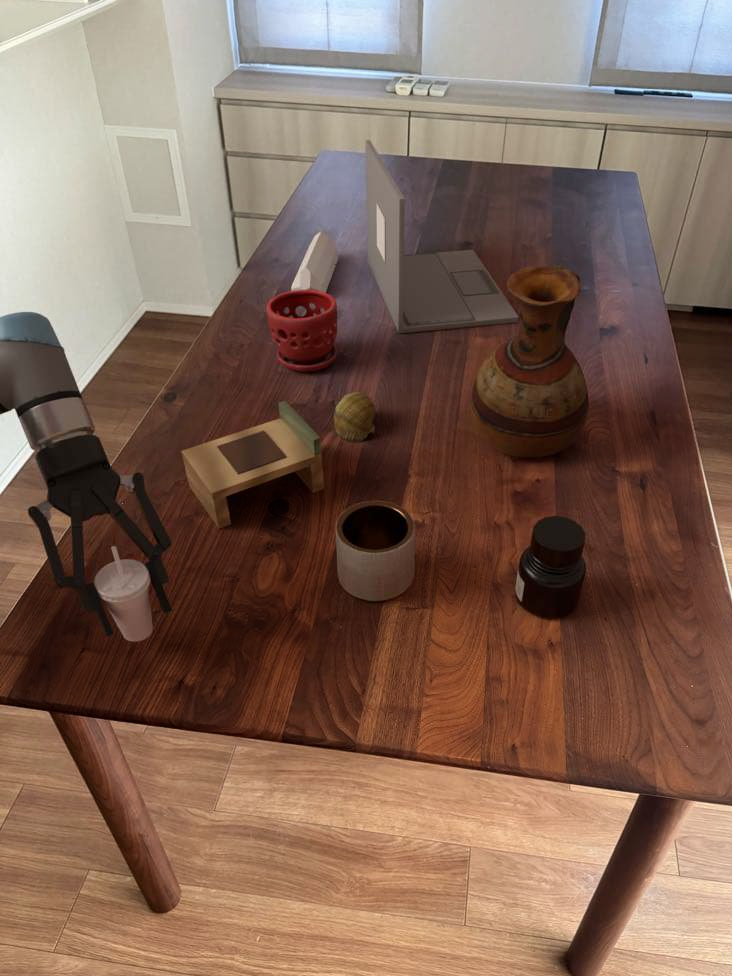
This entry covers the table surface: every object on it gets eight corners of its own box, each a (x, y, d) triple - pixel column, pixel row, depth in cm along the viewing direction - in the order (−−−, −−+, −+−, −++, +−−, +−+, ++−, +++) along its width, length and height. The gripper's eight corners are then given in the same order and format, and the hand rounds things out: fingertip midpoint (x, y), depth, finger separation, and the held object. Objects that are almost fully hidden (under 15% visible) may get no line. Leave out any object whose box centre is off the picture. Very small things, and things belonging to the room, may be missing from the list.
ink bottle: (538, 563, 115) (549, 500, 107) (591, 592, 111) (608, 528, 103) (500, 601, 109) (509, 537, 101) (555, 632, 105) (569, 569, 97)
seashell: (369, 455, 140) (396, 420, 137) (345, 448, 134) (373, 411, 131) (338, 422, 144) (364, 387, 142) (314, 413, 138) (340, 377, 136)
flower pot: (346, 346, 160) (343, 290, 151) (330, 380, 150) (326, 322, 142) (283, 340, 161) (277, 284, 153) (264, 373, 152) (256, 316, 144)
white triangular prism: (330, 287, 170) (346, 242, 188) (300, 269, 168) (320, 225, 186) (315, 313, 175) (332, 267, 192) (285, 297, 173) (306, 251, 190)
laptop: (518, 322, 168) (534, 190, 149) (397, 334, 163) (398, 199, 145) (472, 255, 193) (481, 134, 174) (367, 263, 188) (364, 140, 170)
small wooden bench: (218, 528, 119) (208, 476, 113) (189, 486, 127) (177, 434, 120) (324, 488, 127) (320, 437, 120) (290, 450, 134) (285, 400, 127)
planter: (341, 608, 108) (338, 557, 102) (334, 553, 116) (331, 503, 109) (420, 599, 109) (422, 549, 103) (407, 545, 117) (408, 496, 111)
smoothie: (164, 609, 103) (143, 529, 94) (162, 647, 99) (140, 567, 89) (113, 614, 103) (87, 534, 93) (109, 653, 98) (80, 573, 88)
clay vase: (450, 449, 135) (461, 281, 114) (492, 391, 148) (509, 232, 128) (561, 481, 129) (594, 310, 108) (594, 418, 142) (629, 255, 122)
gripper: (142, 427, 101) (209, 594, 103) (-19, 475, 93) (57, 655, 95) (148, 412, 95) (220, 591, 96) (-25, 462, 87) (57, 657, 88)
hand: (139, 623), depth 95 cm, fingers closed on smoothie, 6 cm apart
